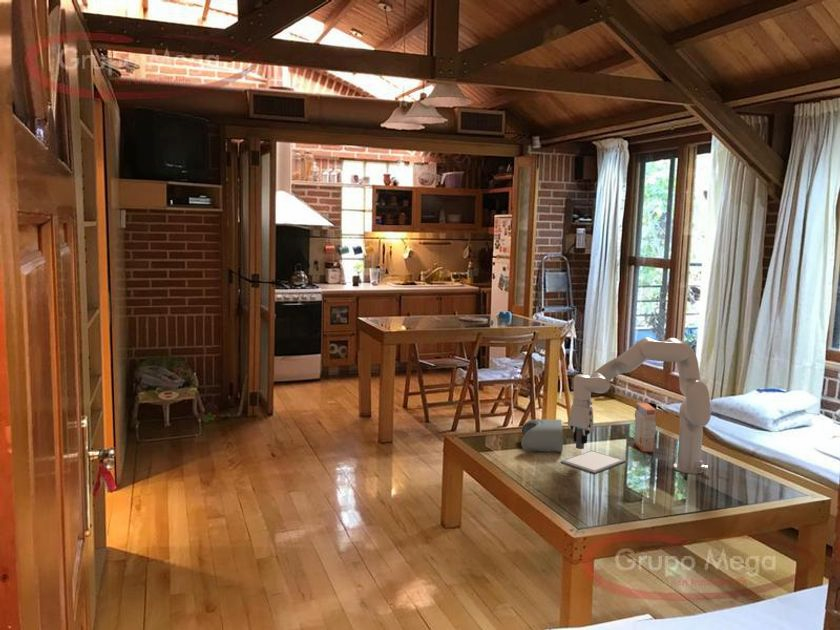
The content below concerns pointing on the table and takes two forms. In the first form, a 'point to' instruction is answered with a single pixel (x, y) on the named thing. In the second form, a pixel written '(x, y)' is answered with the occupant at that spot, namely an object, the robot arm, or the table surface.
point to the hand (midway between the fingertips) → (580, 441)
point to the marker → (579, 438)
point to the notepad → (593, 461)
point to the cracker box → (645, 427)
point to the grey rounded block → (542, 435)
